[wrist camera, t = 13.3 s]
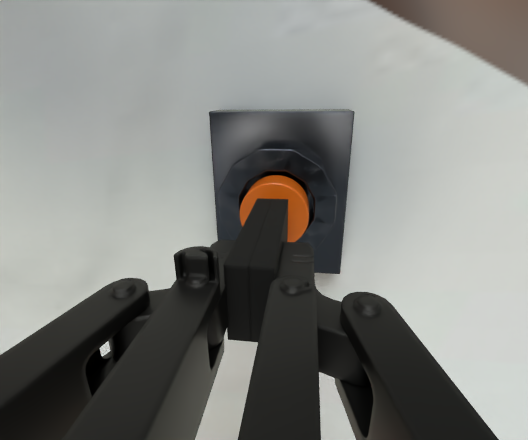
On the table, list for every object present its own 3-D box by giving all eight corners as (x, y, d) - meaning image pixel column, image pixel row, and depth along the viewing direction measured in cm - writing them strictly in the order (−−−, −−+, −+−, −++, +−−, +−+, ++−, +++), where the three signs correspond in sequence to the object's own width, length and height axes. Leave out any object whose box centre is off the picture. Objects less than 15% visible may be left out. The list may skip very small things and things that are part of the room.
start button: (244, 174, 18) (237, 182, 16) (310, 175, 17) (310, 183, 16) (246, 233, 19) (240, 246, 17) (307, 236, 18) (307, 250, 17)
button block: (219, 109, 20) (198, 113, 16) (349, 109, 19) (359, 112, 15) (227, 252, 24) (211, 281, 20) (337, 258, 23) (342, 290, 19)
